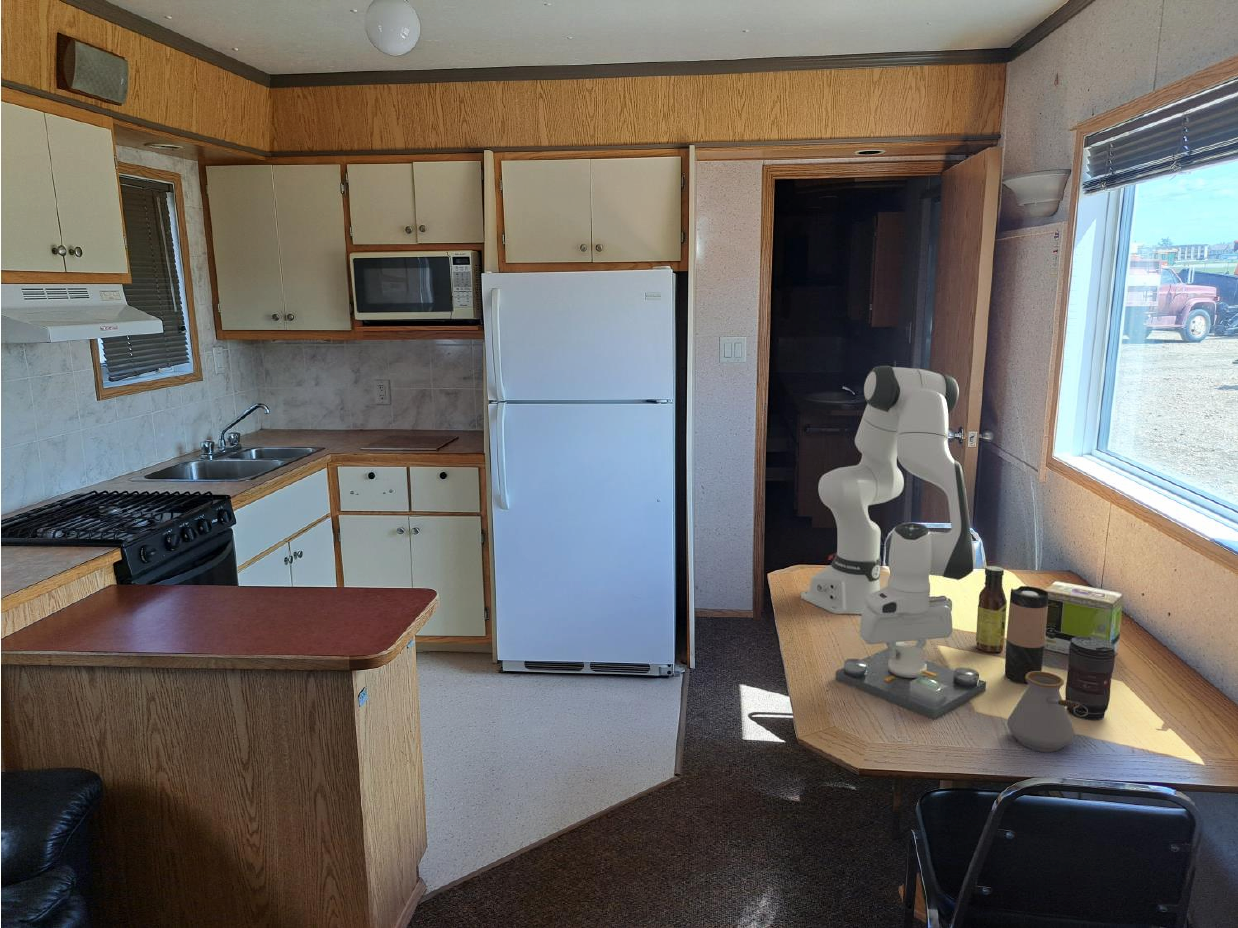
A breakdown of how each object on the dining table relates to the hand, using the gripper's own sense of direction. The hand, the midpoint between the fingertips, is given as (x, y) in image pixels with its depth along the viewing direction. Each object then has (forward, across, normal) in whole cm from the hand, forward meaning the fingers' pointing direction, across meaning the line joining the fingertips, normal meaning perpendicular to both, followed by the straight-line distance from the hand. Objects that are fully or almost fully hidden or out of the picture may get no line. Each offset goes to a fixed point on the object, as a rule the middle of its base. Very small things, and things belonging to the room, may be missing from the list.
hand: (904, 658), depth 191 cm
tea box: (+6, -48, -7) cm, 49 cm away
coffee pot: (+5, -11, +35) cm, 37 cm away
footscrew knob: (+3, -1, +2) cm, 3 cm away
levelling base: (+5, 0, +3) cm, 6 cm away
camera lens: (+5, -28, +22) cm, 36 cm away
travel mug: (+5, -26, +5) cm, 27 cm away
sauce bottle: (+6, -28, -12) cm, 31 cm away
